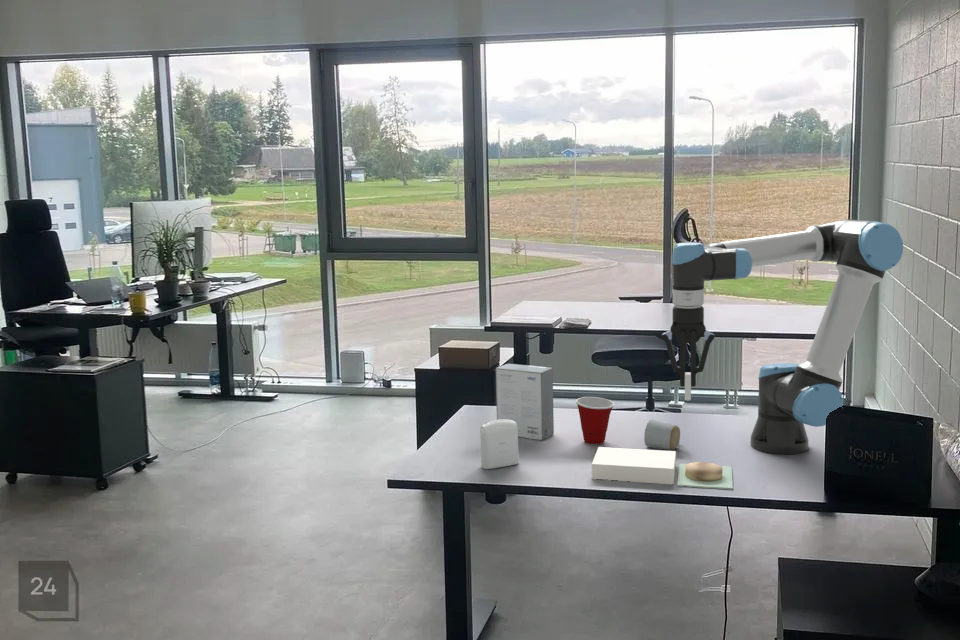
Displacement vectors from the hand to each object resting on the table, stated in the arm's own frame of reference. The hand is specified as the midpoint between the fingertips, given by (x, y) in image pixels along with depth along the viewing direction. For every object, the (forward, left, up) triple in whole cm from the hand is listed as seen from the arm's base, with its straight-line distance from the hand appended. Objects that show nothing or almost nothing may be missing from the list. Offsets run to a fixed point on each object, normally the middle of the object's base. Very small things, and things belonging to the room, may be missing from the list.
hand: (687, 398), depth 229 cm
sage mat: (-5, +2, -19) cm, 20 cm away
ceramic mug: (+7, -21, -20) cm, 29 cm away
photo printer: (+48, +3, -20) cm, 52 cm away
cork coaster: (-4, +3, -19) cm, 20 cm away
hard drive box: (+47, -26, -20) cm, 57 cm away
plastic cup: (+26, -22, -20) cm, 39 cm away
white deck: (+13, +2, -19) cm, 23 cm away
